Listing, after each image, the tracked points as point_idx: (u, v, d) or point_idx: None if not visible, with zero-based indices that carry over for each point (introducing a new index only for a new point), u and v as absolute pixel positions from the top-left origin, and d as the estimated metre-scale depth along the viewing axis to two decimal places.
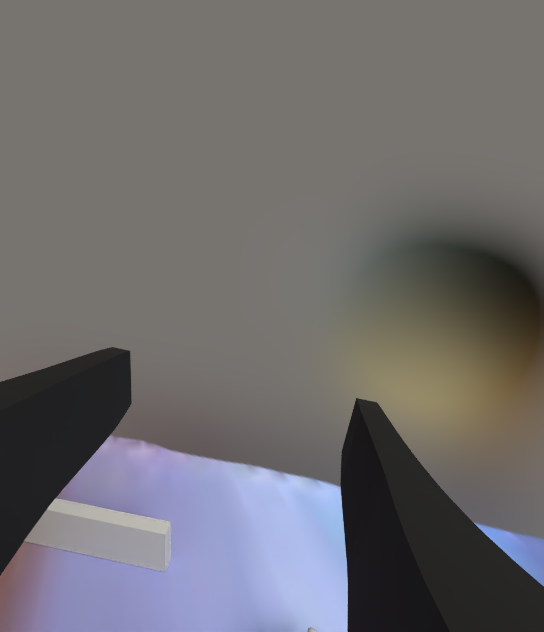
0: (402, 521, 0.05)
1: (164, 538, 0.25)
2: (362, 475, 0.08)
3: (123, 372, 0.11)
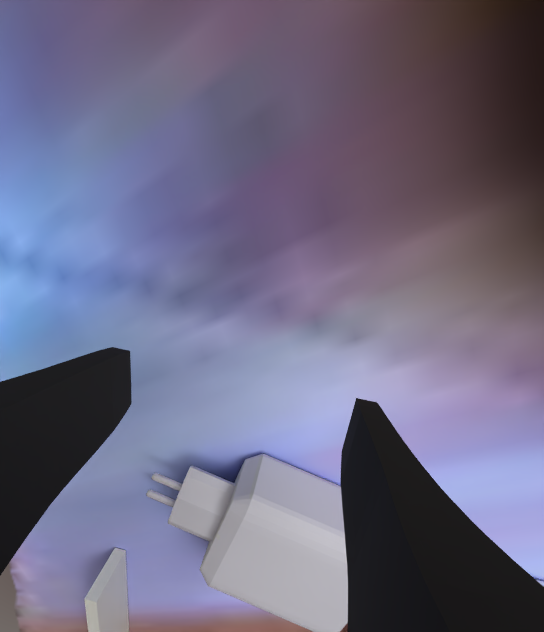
0: (402, 521, 0.05)
1: (99, 596, 0.27)
2: (362, 475, 0.08)
3: (123, 372, 0.11)
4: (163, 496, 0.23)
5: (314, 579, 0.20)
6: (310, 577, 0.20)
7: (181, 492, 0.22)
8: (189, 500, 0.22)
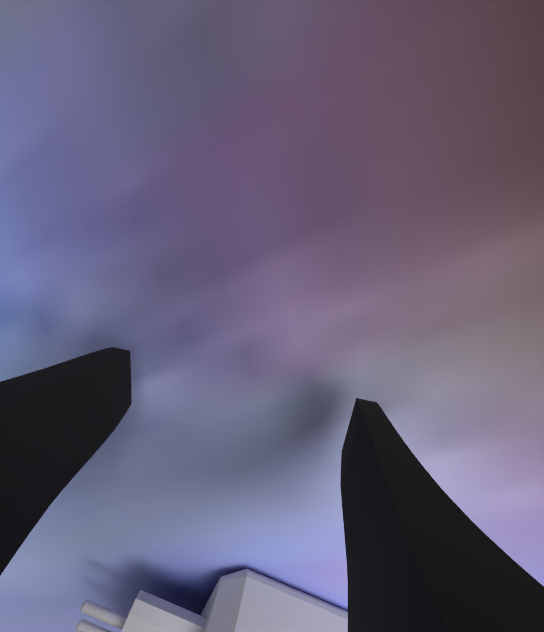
0: (402, 521, 0.05)
1: None
2: (362, 475, 0.08)
3: (123, 372, 0.11)
4: (101, 631, 0.16)
5: None
6: None
7: None
8: None
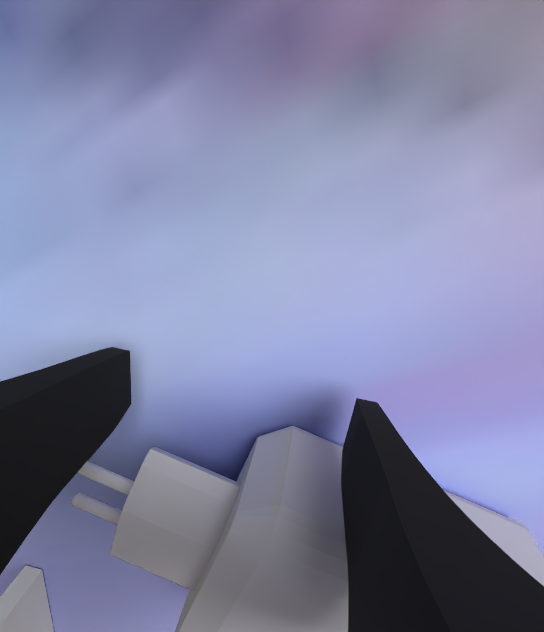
0: (403, 521, 0.05)
1: None
2: (362, 475, 0.08)
3: (122, 372, 0.11)
4: (103, 506, 0.12)
5: None
6: None
7: (131, 499, 0.11)
8: (147, 515, 0.11)
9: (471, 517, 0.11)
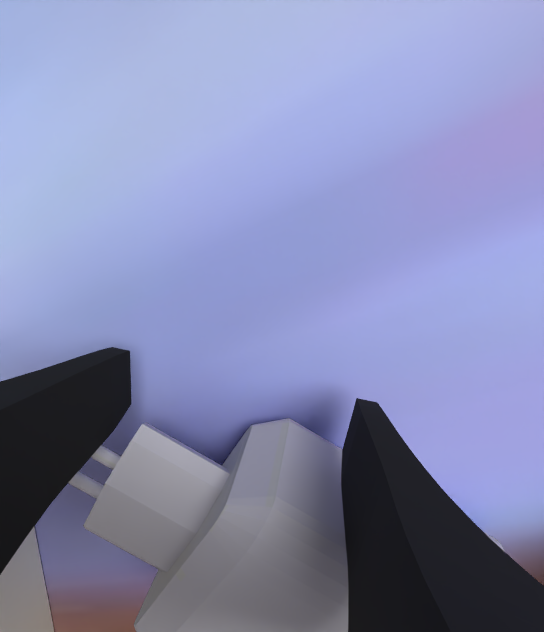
0: (403, 521, 0.05)
1: None
2: (362, 475, 0.08)
3: (122, 372, 0.11)
4: (82, 476, 0.12)
5: None
6: None
7: (116, 473, 0.10)
8: (131, 491, 0.10)
9: None
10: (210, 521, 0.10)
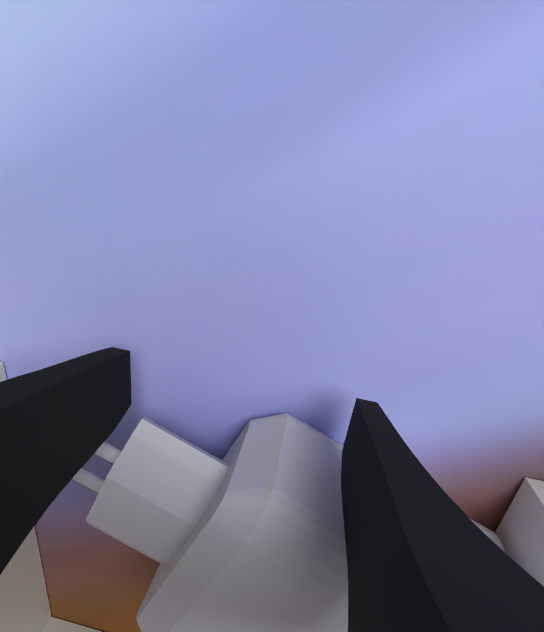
0: (402, 521, 0.05)
1: None
2: (362, 475, 0.08)
3: (122, 372, 0.11)
4: (83, 472, 0.12)
5: None
6: None
7: (116, 467, 0.11)
8: (132, 485, 0.11)
9: None
10: (209, 513, 0.10)
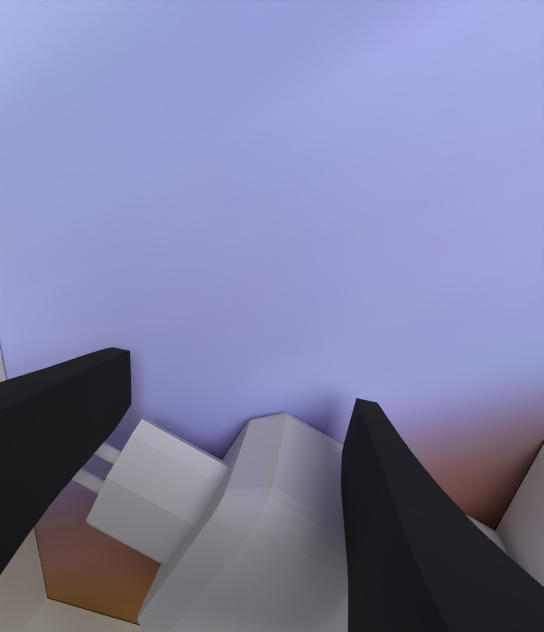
0: (402, 521, 0.05)
1: None
2: (362, 475, 0.08)
3: (123, 372, 0.11)
4: (84, 472, 0.12)
5: None
6: None
7: (117, 468, 0.11)
8: (132, 485, 0.11)
9: None
10: (209, 512, 0.10)
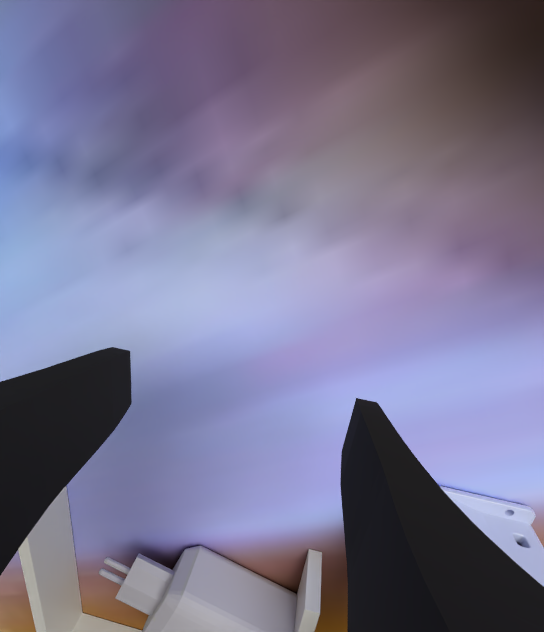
0: (402, 521, 0.05)
1: None
2: (362, 475, 0.08)
3: (123, 372, 0.11)
4: (113, 575, 0.28)
5: None
6: None
7: (127, 578, 0.26)
8: (133, 585, 0.26)
9: (270, 593, 0.27)
10: (163, 598, 0.25)
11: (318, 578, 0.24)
